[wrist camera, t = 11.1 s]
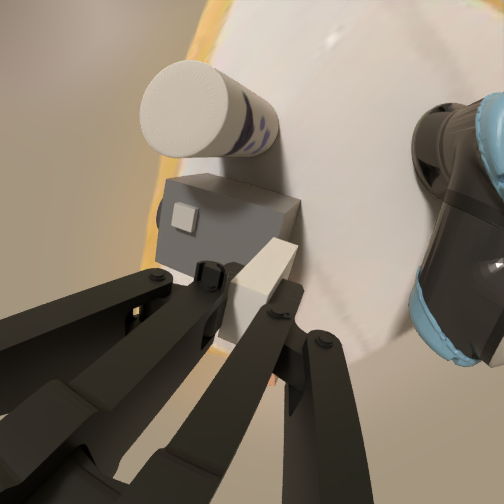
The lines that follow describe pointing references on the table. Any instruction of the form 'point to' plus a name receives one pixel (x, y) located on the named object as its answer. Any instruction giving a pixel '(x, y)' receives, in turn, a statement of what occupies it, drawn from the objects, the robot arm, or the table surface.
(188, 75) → the container
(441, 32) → the table surface
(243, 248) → the dark gray knobbed box
